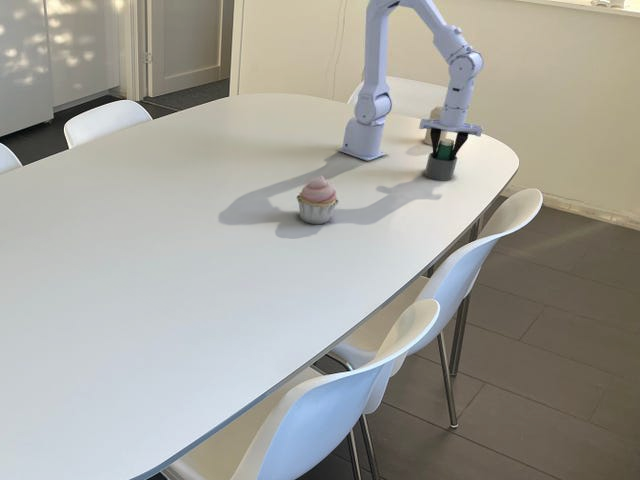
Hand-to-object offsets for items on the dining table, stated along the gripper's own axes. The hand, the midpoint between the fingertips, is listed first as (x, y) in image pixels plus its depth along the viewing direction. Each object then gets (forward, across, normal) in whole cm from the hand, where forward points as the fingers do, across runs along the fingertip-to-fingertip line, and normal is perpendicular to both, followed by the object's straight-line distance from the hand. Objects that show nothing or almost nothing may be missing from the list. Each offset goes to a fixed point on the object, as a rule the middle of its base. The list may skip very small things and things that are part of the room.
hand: (442, 160), depth 185 cm
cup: (+4, 0, 0) cm, 4 cm away
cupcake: (+4, -25, -39) cm, 46 cm away
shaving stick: (+3, 0, 0) cm, 3 cm away
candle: (+4, -2, +26) cm, 26 cm away
